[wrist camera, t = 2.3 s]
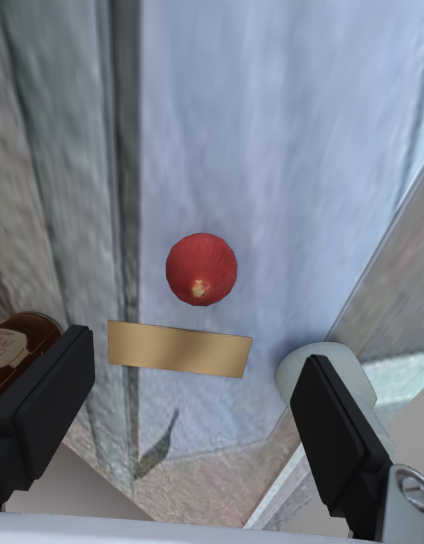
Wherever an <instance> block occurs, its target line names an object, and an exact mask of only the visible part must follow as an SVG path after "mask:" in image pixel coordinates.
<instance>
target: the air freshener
mask: <svg viewBox="0 0 424 544" xmlns="http://www.w3.org/2000/svg"><path fill="white" fill-rule="evenodd" d="M311 354H317V355H325V356H327V357H328V359H329V360H330V362H331V363H332V365H333V367H334V368H335V370H336V371H337V373H338V375H339V376H340V378H341V379H342V381H343V383H344V384H345V386H346V387H347V389H348V391H349V392H350V394H351V395H352V397H353V398H354V400H355V402H356V403H357V405H358V406H359V408H360V410H361V411H362V413H363V414H364V416H365V418H366V419H367V421H368V422H369V424H370V426H371V427H372V429H373V430H374V432H375V433H376V435H377V437H378V438H379V440H380V441H381V443H382V445H383V446H384V448H385V449H386V451H387V453H388V454H389V456H390V457H389V458H390V459H391V461H393V459H394V457H395V452H396V446H395V444H394V442H393V440H392V439H391V437H390V436H389V434H388V433H387V431H386V430H385V428H384V427H383V425H382V424H381V422H380V421H379V419H378V418H377V416H376V415H375V413H374V412H373V410H372V409H373V407H374V405H375V403H376V401H377V396H376V393H375V391H374V389H373V387H372V385H371V383H370V381H369V379H368V377H367V375H366V373H365V372H364V370H363V368H362V366H361V365H360V363H359V362H358V360H357V358H356V357H355V355H354V354H353V352H352V351H351V350H350V349H349V347H348V346H347V345H344V344H340V343H336V342H316V343H311V344H308V345H304V346H302V347H300V348H298V349H296V350H294V351H293V352H291V353H290V354H289V355H287V356H286V357H285V358H284V359H283V360H282V362H281V363H280V364H279V366H278V368H277V370H276V372H275V374H274V379H275V382H276V385H277V388H278V390H279V392H280V394H281V396H282V398H283V400H284V402H285V404H286V406H287V408H288V410H289V411H290V413H291V415H292V416H293V414H292V411H291V408H290V398H291V396H292V393H293V391H294V388H295V386H296V383H297V381H298V378H299V375H300V373H301V370H302V368H303V365H304V363H305V360H306V358H307V357H310V355H311ZM293 418H294V417H293Z"/></svg>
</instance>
